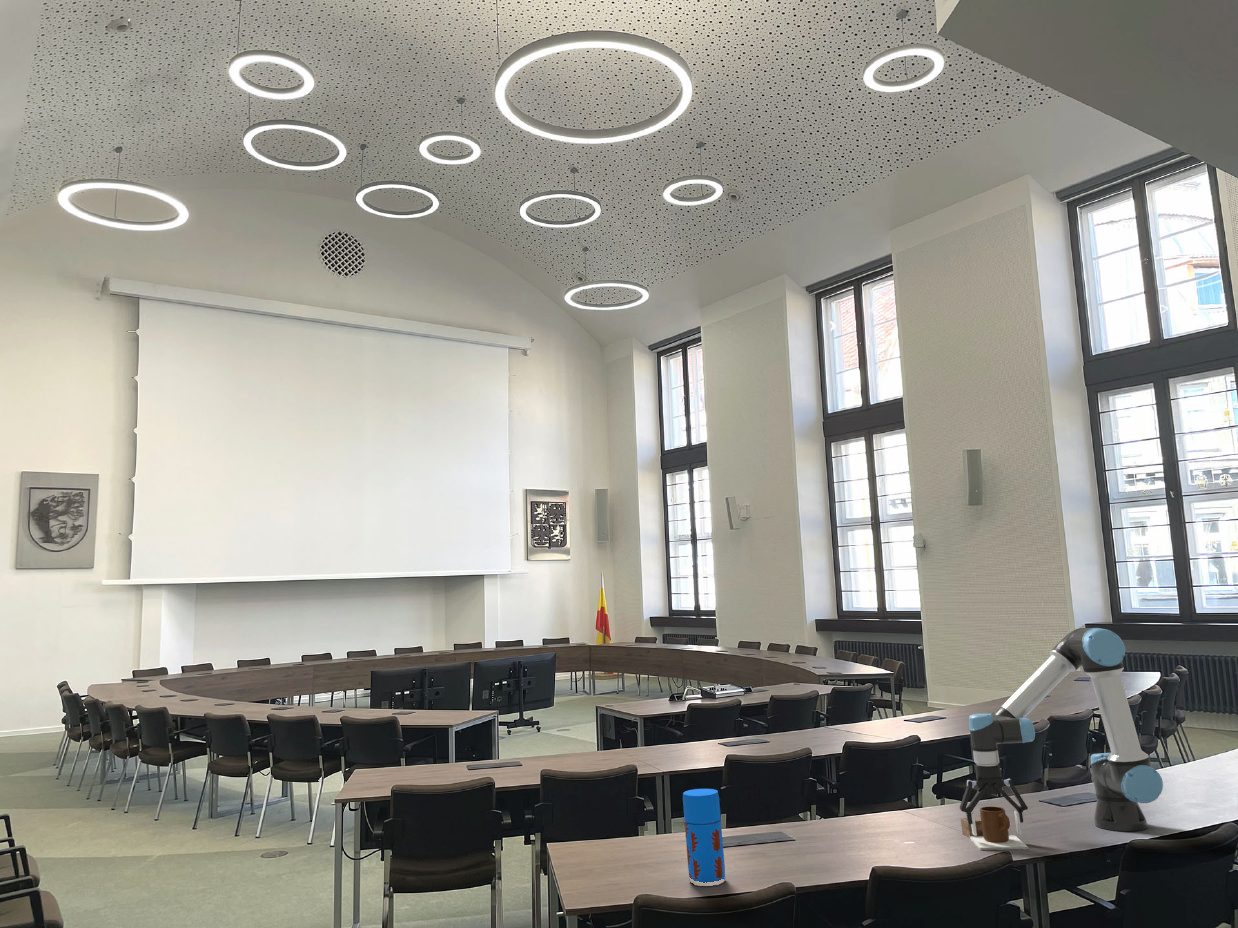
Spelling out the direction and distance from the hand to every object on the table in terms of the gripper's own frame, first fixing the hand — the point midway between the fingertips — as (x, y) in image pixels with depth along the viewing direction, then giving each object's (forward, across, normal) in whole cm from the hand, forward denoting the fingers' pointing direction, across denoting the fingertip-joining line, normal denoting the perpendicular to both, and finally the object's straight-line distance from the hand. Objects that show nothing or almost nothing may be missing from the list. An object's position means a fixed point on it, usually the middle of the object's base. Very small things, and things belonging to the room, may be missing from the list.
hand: (997, 833), depth 266 cm
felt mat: (+3, 0, 0) cm, 3 cm away
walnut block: (+3, +5, -11) cm, 12 cm away
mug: (+2, -1, 0) cm, 3 cm away
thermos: (+3, +90, +33) cm, 96 cm away
